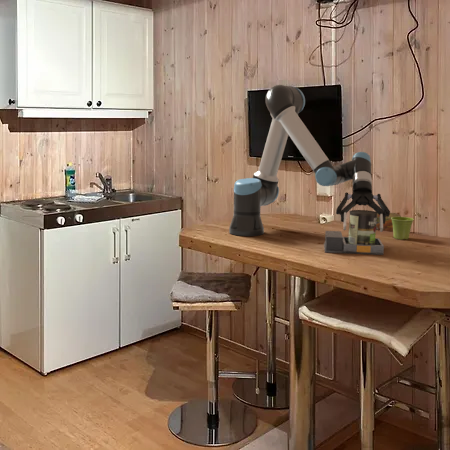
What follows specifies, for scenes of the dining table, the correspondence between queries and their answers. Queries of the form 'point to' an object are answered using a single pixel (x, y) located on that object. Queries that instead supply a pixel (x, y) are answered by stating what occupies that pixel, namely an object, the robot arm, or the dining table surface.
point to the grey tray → (350, 245)
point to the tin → (386, 222)
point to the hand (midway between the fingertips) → (363, 229)
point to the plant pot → (401, 227)
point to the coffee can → (362, 227)
